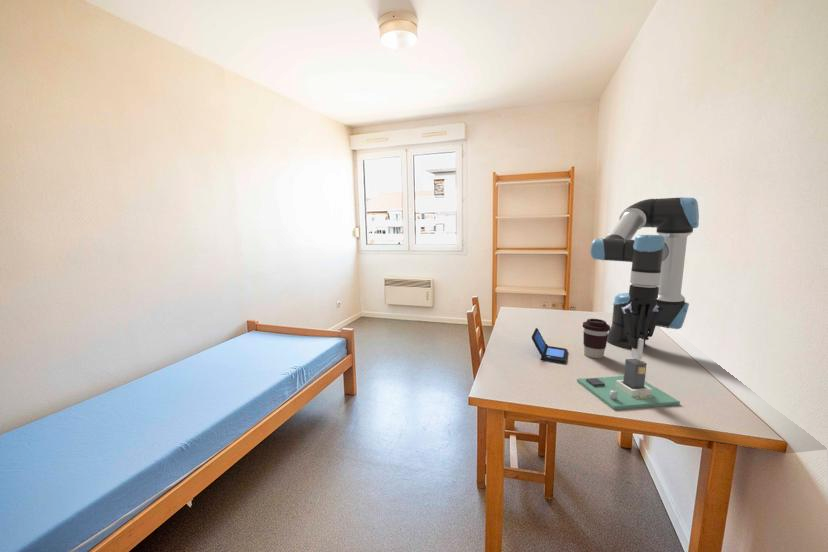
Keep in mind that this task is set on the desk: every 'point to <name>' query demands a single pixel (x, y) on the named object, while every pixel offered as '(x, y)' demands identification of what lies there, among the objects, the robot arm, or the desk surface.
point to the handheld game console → (548, 349)
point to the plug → (634, 373)
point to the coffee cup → (595, 337)
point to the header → (633, 392)
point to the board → (624, 394)
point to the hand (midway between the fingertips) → (636, 357)
